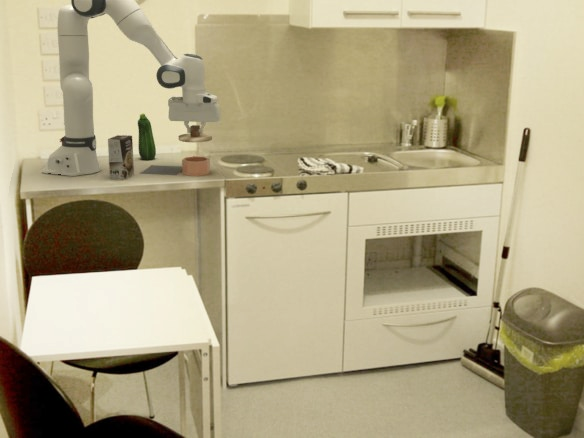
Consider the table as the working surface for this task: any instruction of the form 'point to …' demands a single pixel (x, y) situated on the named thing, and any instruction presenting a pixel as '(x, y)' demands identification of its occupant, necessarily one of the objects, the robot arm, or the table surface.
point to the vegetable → (146, 139)
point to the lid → (195, 135)
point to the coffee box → (121, 157)
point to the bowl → (196, 166)
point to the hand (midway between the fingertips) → (195, 132)
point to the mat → (162, 170)
